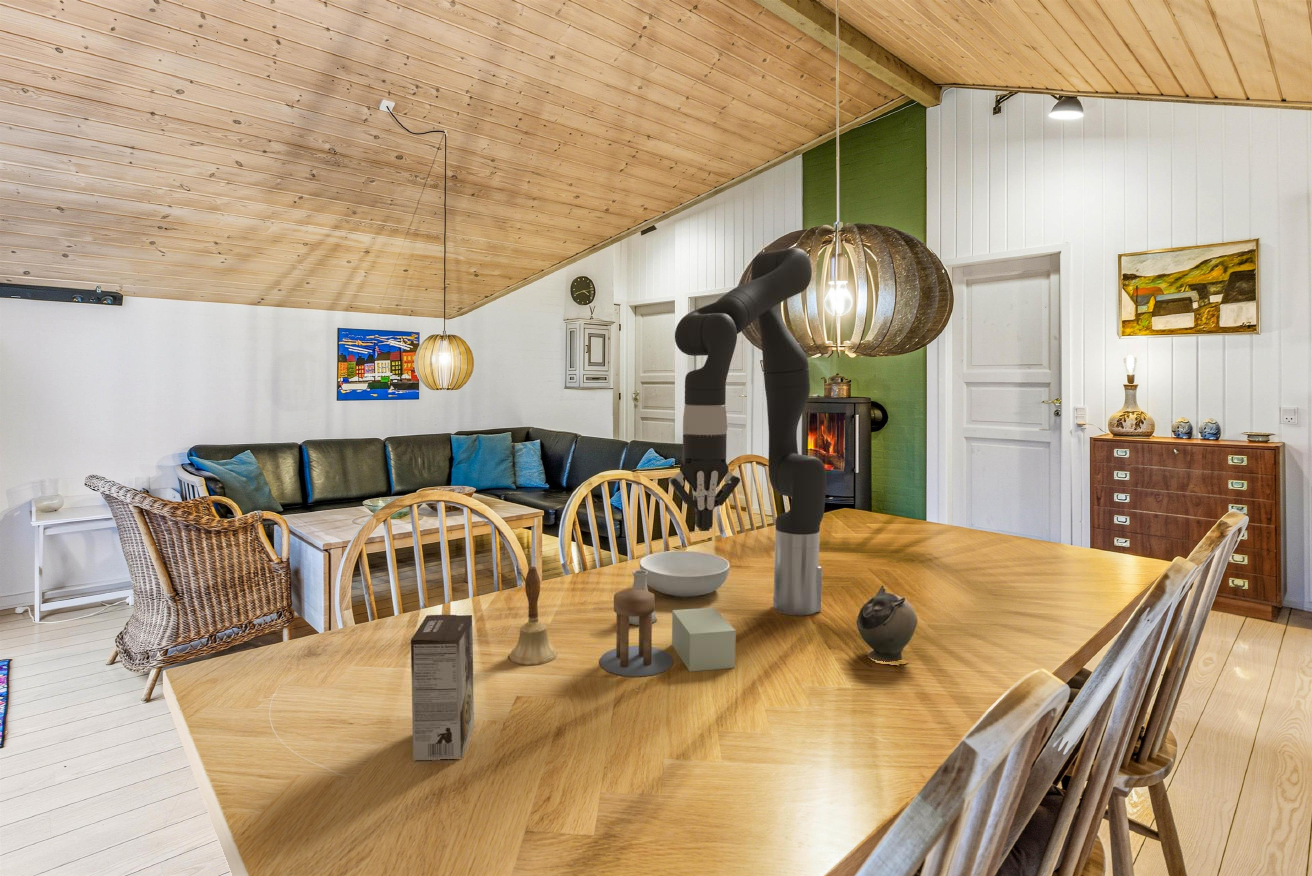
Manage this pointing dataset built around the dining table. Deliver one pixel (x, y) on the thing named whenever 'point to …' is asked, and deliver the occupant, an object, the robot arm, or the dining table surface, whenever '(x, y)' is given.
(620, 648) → the stool
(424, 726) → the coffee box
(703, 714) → the dining table surface
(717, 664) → the box
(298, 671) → the dining table surface
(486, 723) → the dining table surface
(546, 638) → the hand bell
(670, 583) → the serving bowl
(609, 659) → the mat
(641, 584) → the flask
